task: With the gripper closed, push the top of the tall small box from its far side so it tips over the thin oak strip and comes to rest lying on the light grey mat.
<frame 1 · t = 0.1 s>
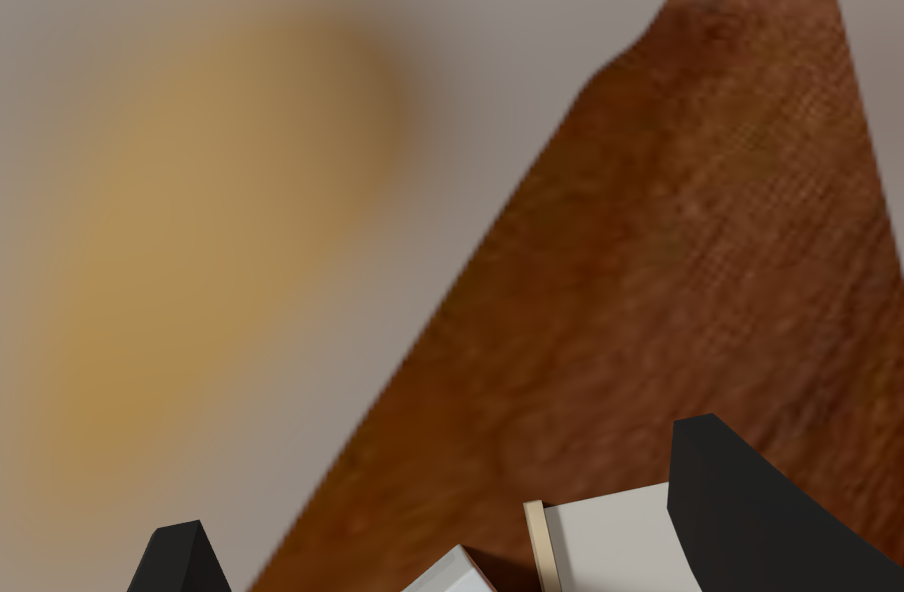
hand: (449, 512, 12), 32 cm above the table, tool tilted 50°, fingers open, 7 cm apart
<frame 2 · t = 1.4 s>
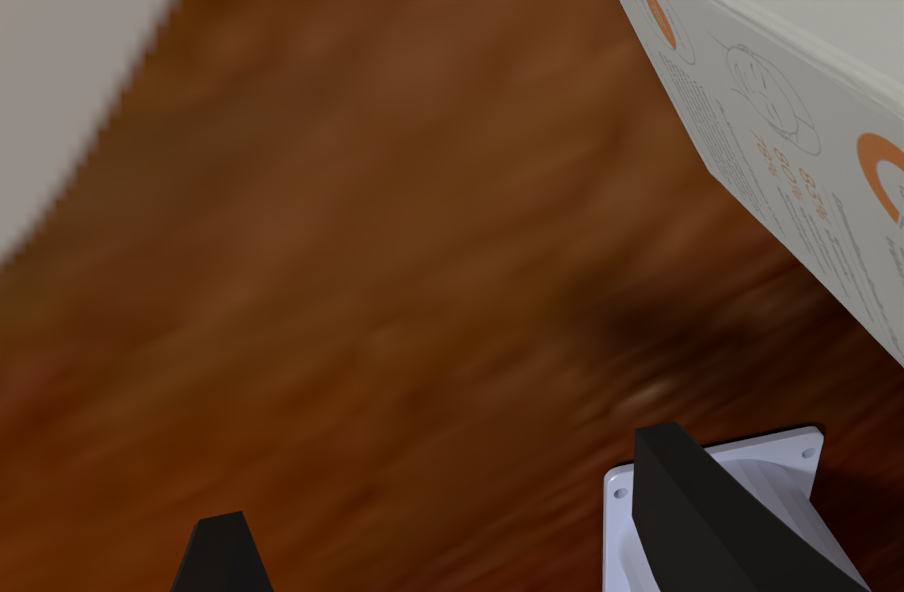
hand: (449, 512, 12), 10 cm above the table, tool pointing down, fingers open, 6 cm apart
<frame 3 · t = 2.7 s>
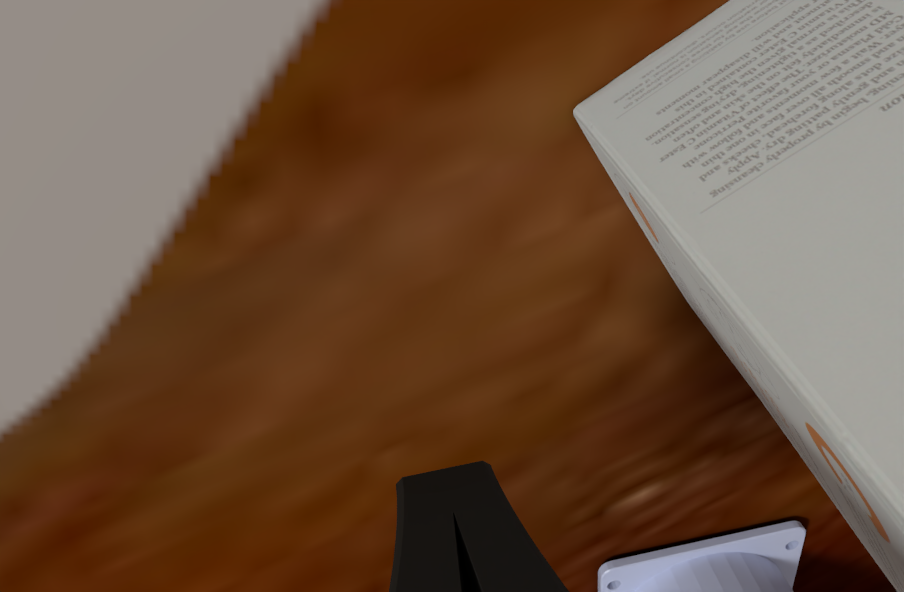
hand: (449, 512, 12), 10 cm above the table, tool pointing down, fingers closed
small box: (737, 147, 21), on the table
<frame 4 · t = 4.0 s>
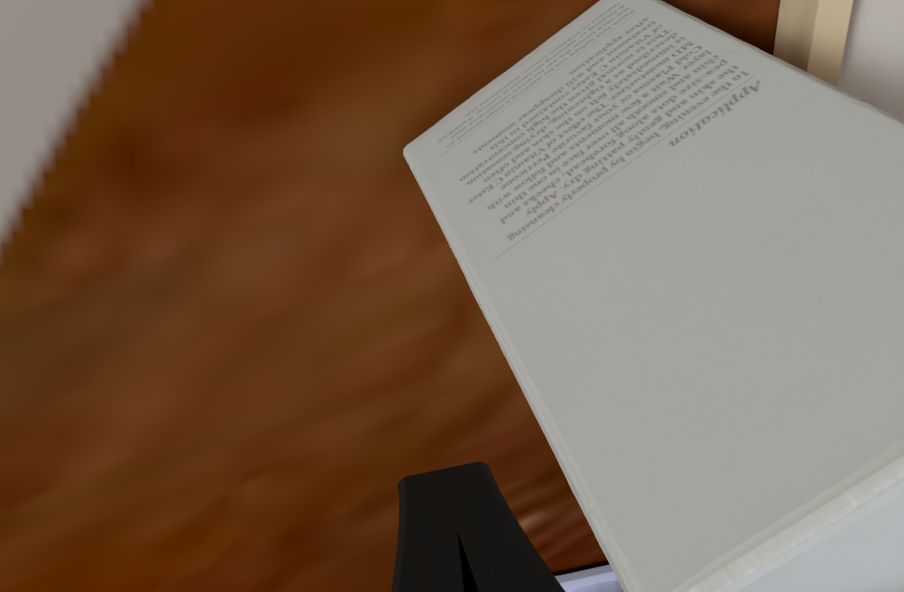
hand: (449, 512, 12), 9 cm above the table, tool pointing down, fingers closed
oak strip: (775, 143, 21), on the table
small box: (585, 183, 20), on the table, touching gripper
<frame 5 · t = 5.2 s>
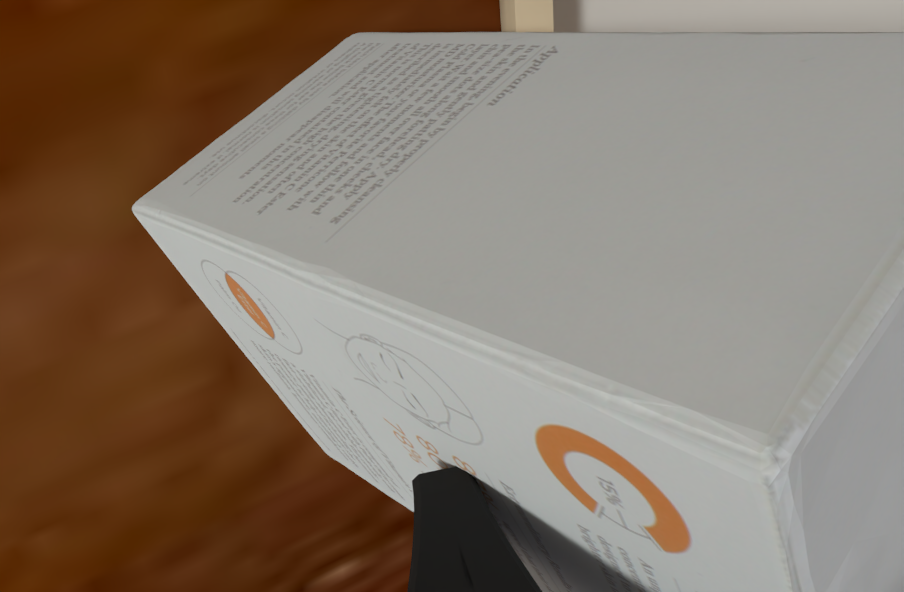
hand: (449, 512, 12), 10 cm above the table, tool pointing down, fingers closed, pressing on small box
mat: (765, 191, 22), on the table
oak strip: (528, 201, 21), on the table
small box: (333, 251, 19), point 2 cm above the table, touching gripper, oak strip
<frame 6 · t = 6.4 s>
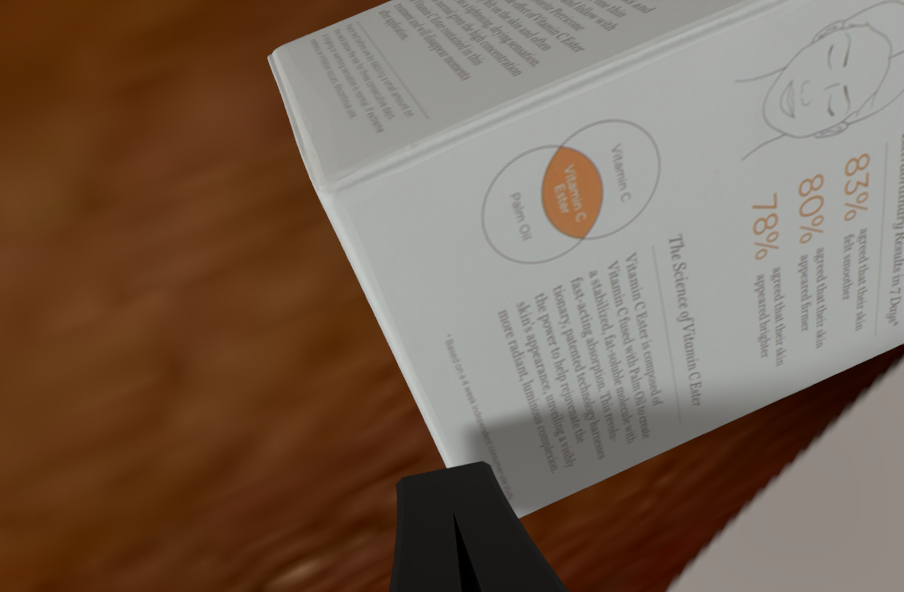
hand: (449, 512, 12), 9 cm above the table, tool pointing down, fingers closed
small box: (357, 297, 15), point 5 cm above the table, touching mat, oak strip
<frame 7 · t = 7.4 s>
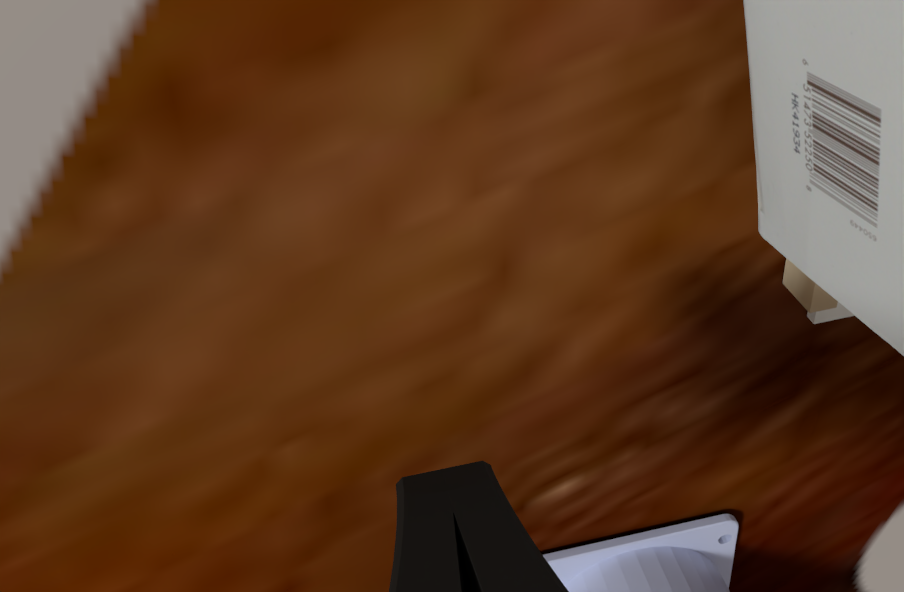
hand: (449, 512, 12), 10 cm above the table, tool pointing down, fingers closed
oak strip: (829, 85, 20), on the table
small box: (824, 154, 15), point 5 cm above the table, touching mat, oak strip
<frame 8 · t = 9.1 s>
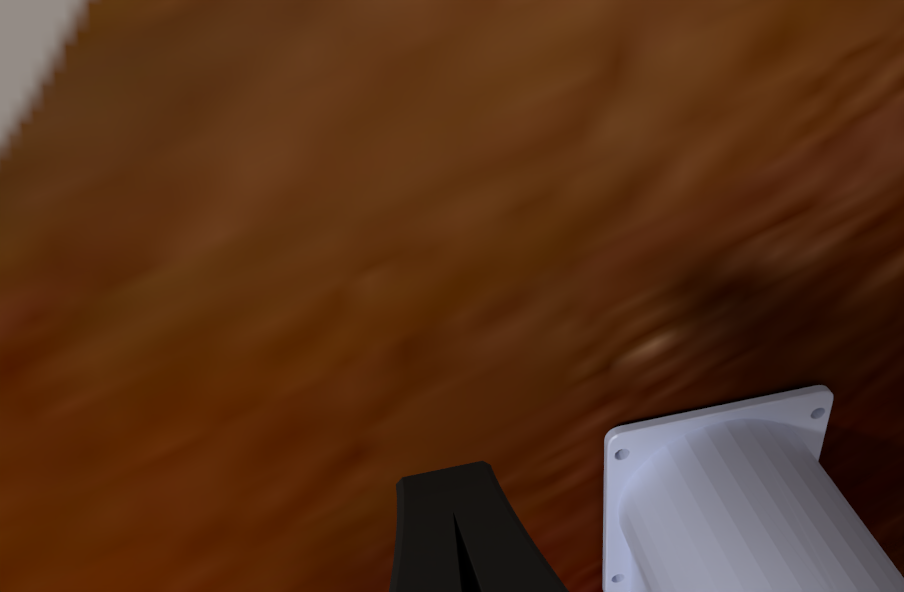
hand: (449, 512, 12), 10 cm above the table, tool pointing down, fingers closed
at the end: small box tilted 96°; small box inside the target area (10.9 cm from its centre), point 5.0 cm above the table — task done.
